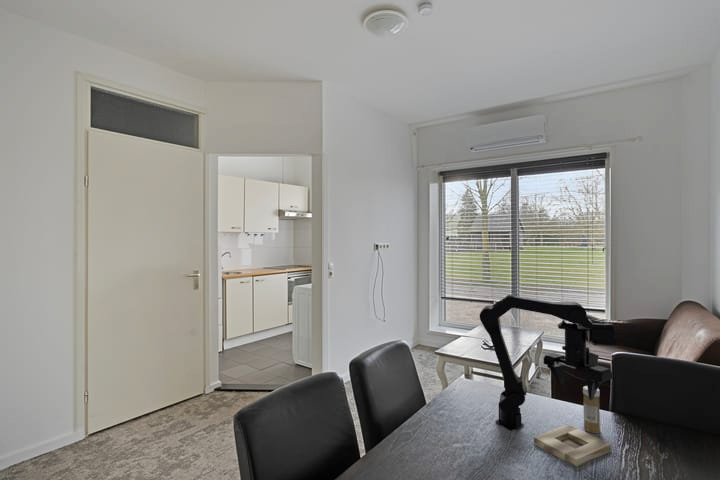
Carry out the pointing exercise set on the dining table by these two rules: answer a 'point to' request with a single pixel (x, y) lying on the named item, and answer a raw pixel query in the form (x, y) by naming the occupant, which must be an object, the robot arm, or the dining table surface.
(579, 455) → the socket block
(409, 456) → the dining table surface
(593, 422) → the sprinkles bottle
